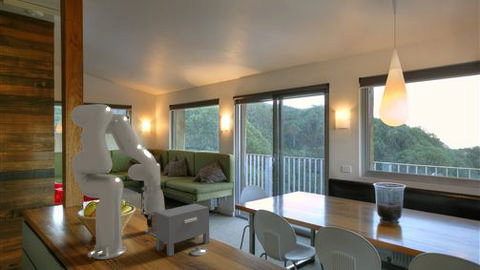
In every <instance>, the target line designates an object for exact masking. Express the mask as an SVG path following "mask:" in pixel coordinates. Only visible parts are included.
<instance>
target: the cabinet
mask: <svg viewBox="0 0 480 270" xmlns="http://www.w3.org/2000/svg"><path fill="white" fill-rule="evenodd" d="M201 235H202V243H203V244H205V245H206V244H209V243H210V207H209V206H207V205H202V204H198V203H191V204H186V205H182V206H177V207H173V208H170V209H169V208H168V209H165V210H164V211H159V212H156V237H155V238H156V239H155V240H156V243H155V245H156V251H159V252H160V251H162V250H163V251H164V244H166V256H168V257H171V256H174V255H175V245H174V244H175V243H176V244H177V243H179V242H180V243H181V242H183V241H186V240H189V239H194V240H196V239H199V236H201Z"/></svg>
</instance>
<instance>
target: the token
mask: <svg viewBox="0 0 480 270" xmlns="http://www.w3.org/2000/svg"><path fill="white" fill-rule="evenodd" d="M190 254H191V256H195V257H200V256H204V255H206V254H207V248H206V247H204V246H196V247H193V248H191V250H190Z"/></svg>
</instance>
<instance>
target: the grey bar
mask: <svg viewBox="0 0 480 270" xmlns="http://www.w3.org/2000/svg"><path fill="white" fill-rule="evenodd" d="M151 219H152V227H151V228H150V227H148V226H147V228H146V229H143V232H145V233H147V234H148V235H150V236H153V237H155V238H156V214H155V212H154V213H151Z"/></svg>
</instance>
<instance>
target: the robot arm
mask: <svg viewBox="0 0 480 270" xmlns="http://www.w3.org/2000/svg"><path fill="white" fill-rule="evenodd" d="M70 116H71V120H72V122H73V123H74V125H76V126H78V127H80V128H81V129H82V128H83V129H82V132H81V135H80V145H81V148H82V150H80V151H78V152H76V153H74V155H73V157H72V161H71V168H72V172H73V174H74V177H75V180H76V182H77V183H76V184H77V185H78V188H79V190H80V192H81V193H82V194H83V195H84V196H86V197H88V198H94V199H99V201H98V203H97V204H96V208H95V245H94V249H93V250H90V251H89V252H88V253H87V257H88V258H93V259H96V260H109V259H115V258H117V257H120V256H122V255H123V254H125V253H126V252H127V247H126V246H125V245H123V234H122V233H123V231H122V230H123V228H122V220H123V219H122V198H123V194H124V186H125V185H124V181H123V180H122V178H120V177H119V176H118V175H115V174H108V173H110V172H111V170H112V169H113V160H112V156H111V153H110V150H109V147H108V144H107V139H106V135H111V136H112V138H113V139H114V142H115V143H116V146H117V148H118V150H119V151H120V153H122V154H123V155H125V156H127V157H129V158H132V159H134V160H135V161H138V163H136V164H132V165H131V166H130V167H129V168H128V171H127V175H128V177H129V179H131V180H133V181H143V182H144V185H143V187H141V191H143V192H142V198H141V210H140V212H139V215H140V216H142V217H144V218H145V219H146V226H147V228H148V227H150V228H151V227H152V219H151V213H154V214H156V212H159V211H164V210H166V208H165V197H164V193H163V190H162V189H161V164H160V163H159V162H157V161H156V158H155V157H154V155H153V153H151V152H150V151H149V150H148V149H147V148H146V147H144V146H143V145H142V144H141V143H140V142H139V141H138V139H137V136H136V134H135V131H134V129H133V127H132V125H131V122H130V121H129V119H128V117H127V116H126V115H125V114H122V113H120V114H119V113H113V109H112V107H110V106H109V105H106V104H103V103H96V104H83V105H78V106H75V107H74V108H73V109H72V111H71V114H70Z"/></svg>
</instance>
